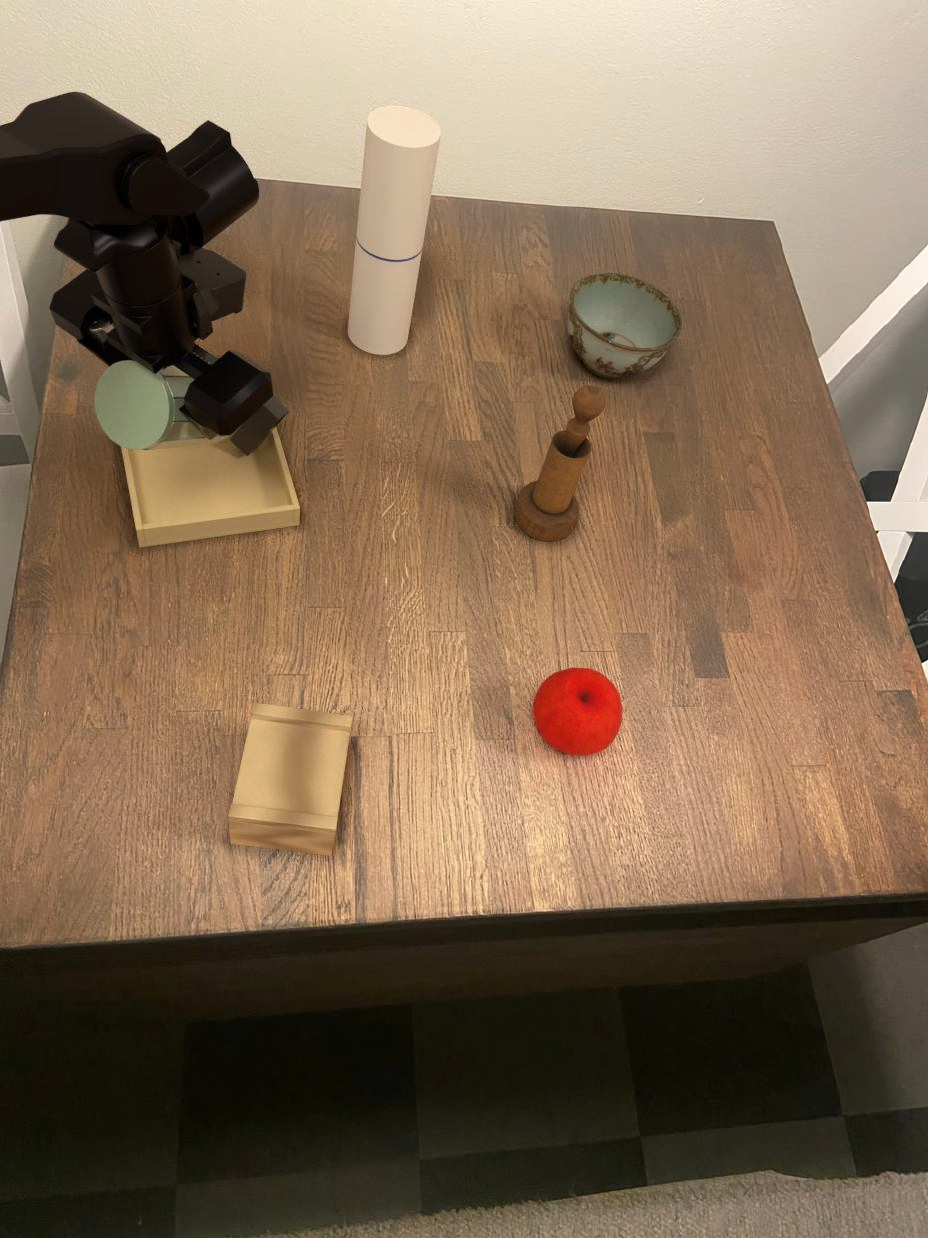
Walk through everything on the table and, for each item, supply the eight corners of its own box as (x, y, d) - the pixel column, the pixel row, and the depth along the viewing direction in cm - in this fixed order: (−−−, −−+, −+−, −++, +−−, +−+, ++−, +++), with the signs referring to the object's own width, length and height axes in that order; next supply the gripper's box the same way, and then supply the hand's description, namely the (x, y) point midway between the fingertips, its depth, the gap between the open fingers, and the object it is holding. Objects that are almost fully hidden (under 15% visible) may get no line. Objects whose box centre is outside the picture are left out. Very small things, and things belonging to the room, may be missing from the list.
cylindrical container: (352, 354, 106) (373, 144, 85) (343, 313, 109) (362, 102, 89) (412, 354, 107) (447, 149, 87) (402, 314, 111) (433, 108, 90)
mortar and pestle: (502, 503, 97) (544, 374, 82) (551, 486, 100) (601, 358, 85) (535, 549, 94) (585, 424, 80) (585, 531, 97) (642, 406, 82)
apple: (569, 677, 87) (592, 636, 81) (626, 741, 84) (654, 703, 78) (506, 719, 83) (525, 679, 77) (563, 787, 80) (587, 750, 74)
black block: (279, 419, 89) (289, 410, 91) (260, 401, 89) (271, 393, 91) (247, 456, 93) (257, 447, 95) (229, 439, 92) (240, 431, 94)
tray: (139, 547, 86) (136, 529, 84) (120, 445, 92) (117, 425, 90) (299, 525, 91) (300, 508, 88) (271, 429, 97) (271, 410, 95)
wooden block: (230, 844, 72) (227, 816, 67) (253, 735, 78) (252, 701, 73) (331, 856, 73) (335, 829, 68) (347, 747, 79) (352, 715, 74)
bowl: (540, 377, 109) (558, 323, 103) (565, 312, 117) (583, 258, 110) (648, 415, 109) (673, 363, 102) (666, 347, 117) (690, 295, 110)
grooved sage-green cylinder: (144, 467, 74) (183, 395, 72) (81, 415, 75) (117, 341, 72) (218, 458, 84) (254, 394, 82) (161, 412, 85) (195, 348, 82)
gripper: (311, 277, 68) (322, 411, 82) (126, 162, 72) (166, 310, 86) (208, 366, 63) (238, 492, 77) (15, 239, 67) (77, 382, 81)
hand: (181, 414), depth 80 cm, fingers closed on grooved sage-green cylinder, 7 cm apart
